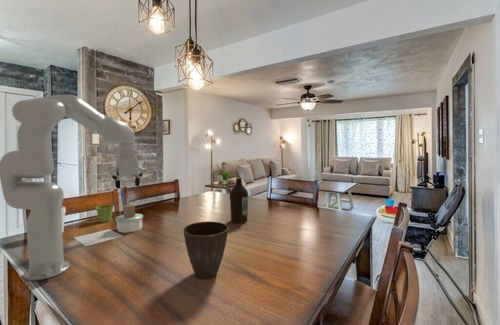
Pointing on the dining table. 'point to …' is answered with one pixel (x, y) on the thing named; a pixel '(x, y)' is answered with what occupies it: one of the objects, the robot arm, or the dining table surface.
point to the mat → (97, 237)
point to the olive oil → (239, 202)
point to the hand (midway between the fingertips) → (128, 187)
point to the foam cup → (63, 217)
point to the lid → (129, 215)
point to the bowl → (129, 226)
